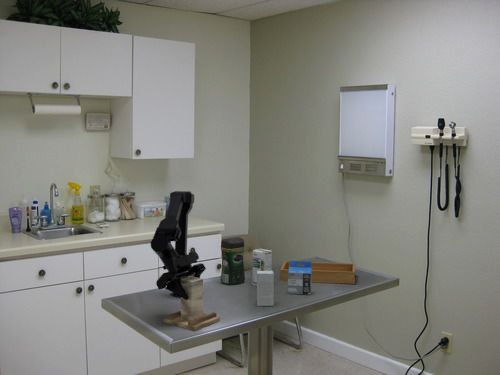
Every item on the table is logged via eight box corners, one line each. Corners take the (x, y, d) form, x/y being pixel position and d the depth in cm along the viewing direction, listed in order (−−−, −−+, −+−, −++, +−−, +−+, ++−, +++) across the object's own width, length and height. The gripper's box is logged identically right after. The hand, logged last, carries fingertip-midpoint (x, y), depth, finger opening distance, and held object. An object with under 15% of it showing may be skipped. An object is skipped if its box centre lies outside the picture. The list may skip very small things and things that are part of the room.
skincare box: (273, 302, 212) (273, 270, 211) (273, 306, 208) (274, 273, 207) (256, 302, 212) (256, 270, 211) (256, 306, 208) (257, 273, 206)
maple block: (180, 318, 190) (180, 279, 189) (191, 314, 194) (191, 276, 193) (191, 321, 187) (192, 281, 186) (202, 317, 191) (202, 278, 190)
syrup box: (251, 285, 235) (251, 250, 234) (261, 282, 239) (261, 247, 238) (262, 288, 231) (262, 252, 230) (272, 285, 236) (272, 249, 234)
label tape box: (287, 294, 223) (287, 262, 222) (288, 291, 227) (289, 260, 226) (310, 295, 222) (311, 263, 221) (311, 292, 226) (311, 261, 224)
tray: (280, 281, 243) (280, 268, 242) (284, 273, 257) (284, 260, 257) (354, 285, 237) (355, 272, 236) (354, 276, 252) (355, 263, 251)
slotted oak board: (163, 321, 190) (163, 314, 190) (188, 312, 200) (188, 305, 200) (195, 331, 182) (195, 323, 182) (219, 321, 192) (219, 313, 191)
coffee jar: (236, 278, 246) (236, 235, 244) (247, 282, 239) (248, 238, 237) (217, 282, 240) (217, 237, 238) (228, 286, 233) (228, 240, 232)
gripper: (162, 248, 183) (187, 289, 178) (201, 239, 198) (226, 276, 193) (145, 269, 189) (169, 309, 183) (185, 259, 204) (208, 295, 198)
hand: (194, 296), depth 189 cm, fingers open, 7 cm apart
